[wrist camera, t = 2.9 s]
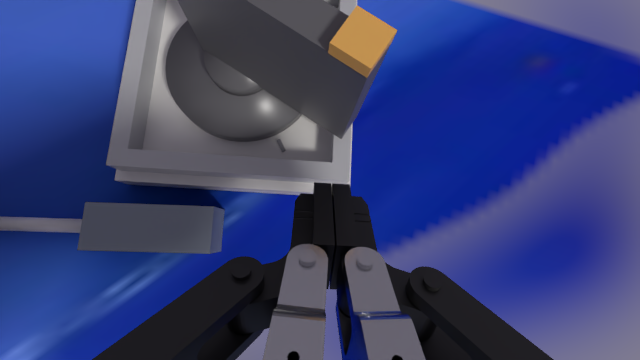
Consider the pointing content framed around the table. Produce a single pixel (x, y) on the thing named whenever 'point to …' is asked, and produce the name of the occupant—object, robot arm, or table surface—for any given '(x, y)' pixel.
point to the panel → (199, 146)
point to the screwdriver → (135, 227)
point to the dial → (273, 65)
